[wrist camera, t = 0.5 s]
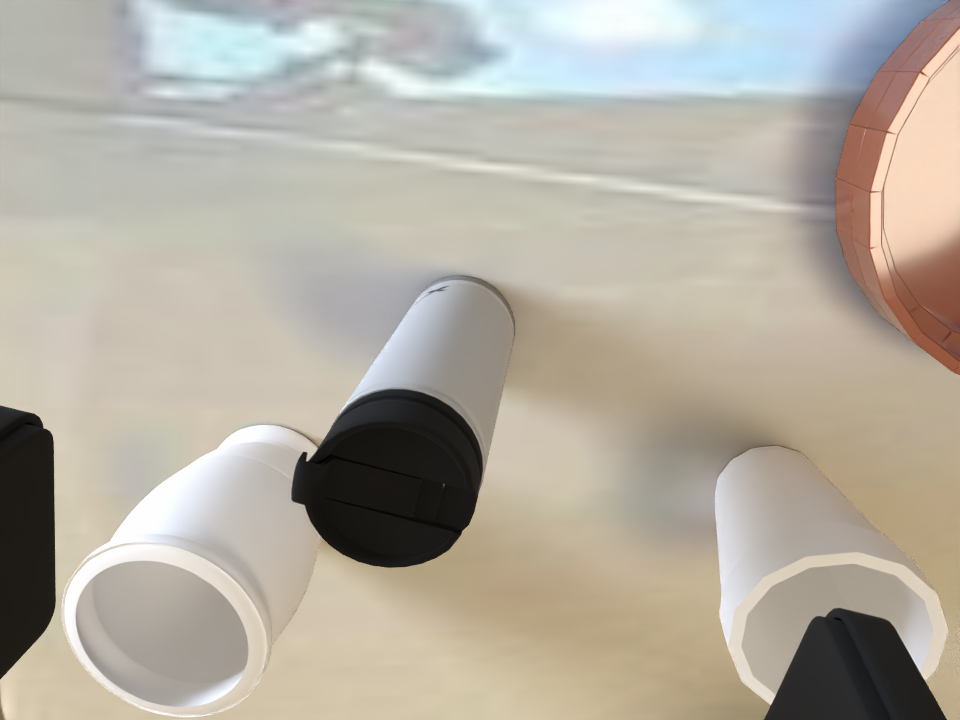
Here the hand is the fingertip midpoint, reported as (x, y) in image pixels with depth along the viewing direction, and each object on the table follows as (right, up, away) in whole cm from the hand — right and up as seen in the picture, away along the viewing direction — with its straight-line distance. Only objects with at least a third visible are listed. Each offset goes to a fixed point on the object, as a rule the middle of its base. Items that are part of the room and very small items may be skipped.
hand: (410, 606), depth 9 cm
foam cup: (+19, -5, +38) cm, 42 cm away
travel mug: (0, +5, +36) cm, 36 cm away
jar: (-13, -5, +41) cm, 44 cm away
